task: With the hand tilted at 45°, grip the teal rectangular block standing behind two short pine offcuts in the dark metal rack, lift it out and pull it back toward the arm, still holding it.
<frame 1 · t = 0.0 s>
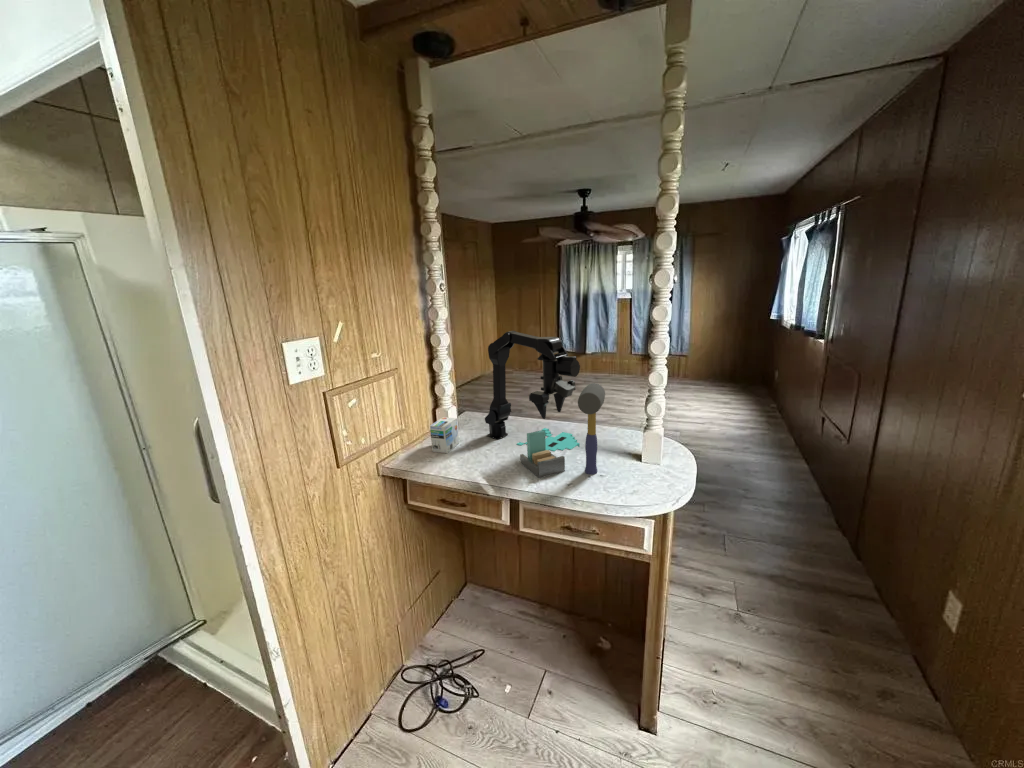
hand: (551, 415, 142), 15 cm above the counter, tool pointing down, fingers open, 9 cm apart
offcut b: (546, 470, 129), point 1 cm above the counter, touching rack
alien figure: (552, 446, 153), on the counter
offcut a: (541, 466, 132), point 1 cm above the counter, touching rack
rubber mallet: (591, 476, 127), on the counter
light bulb box: (446, 447, 155), on the counter
rack: (536, 466, 135), on the counter
teal rectangular block: (536, 462, 135), point 1 cm above the counter, touching rack
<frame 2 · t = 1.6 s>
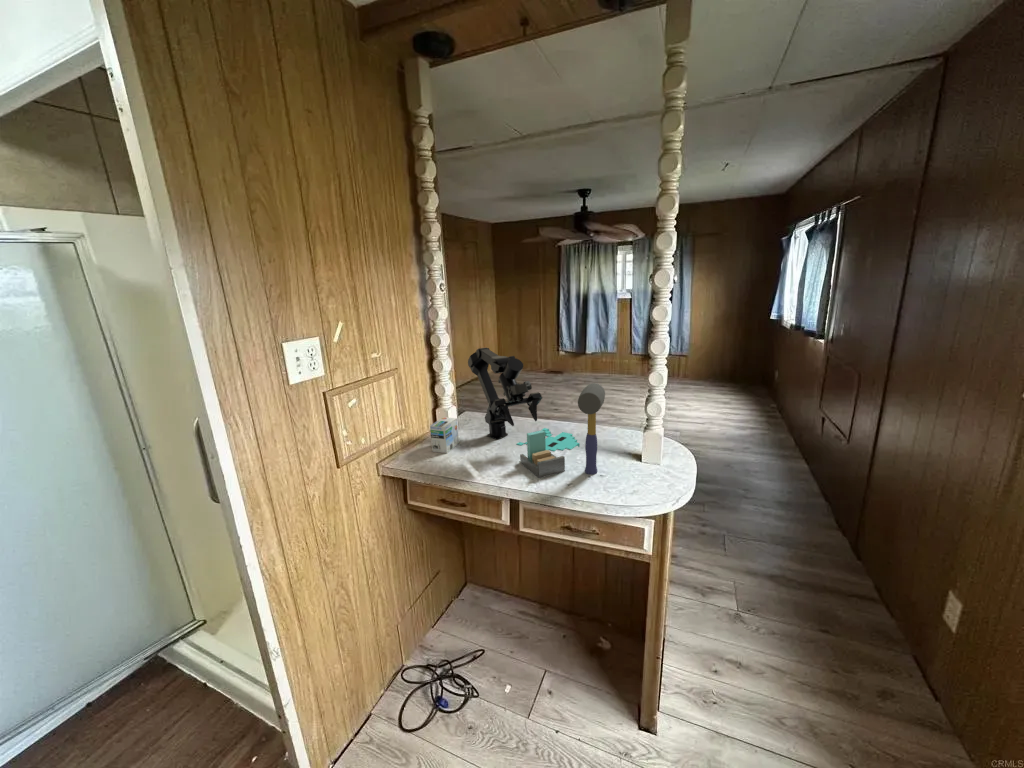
hand: (525, 423, 139), 13 cm above the counter, tool tilted 45°, fingers open, 9 cm apart
nothing on the counter moved.
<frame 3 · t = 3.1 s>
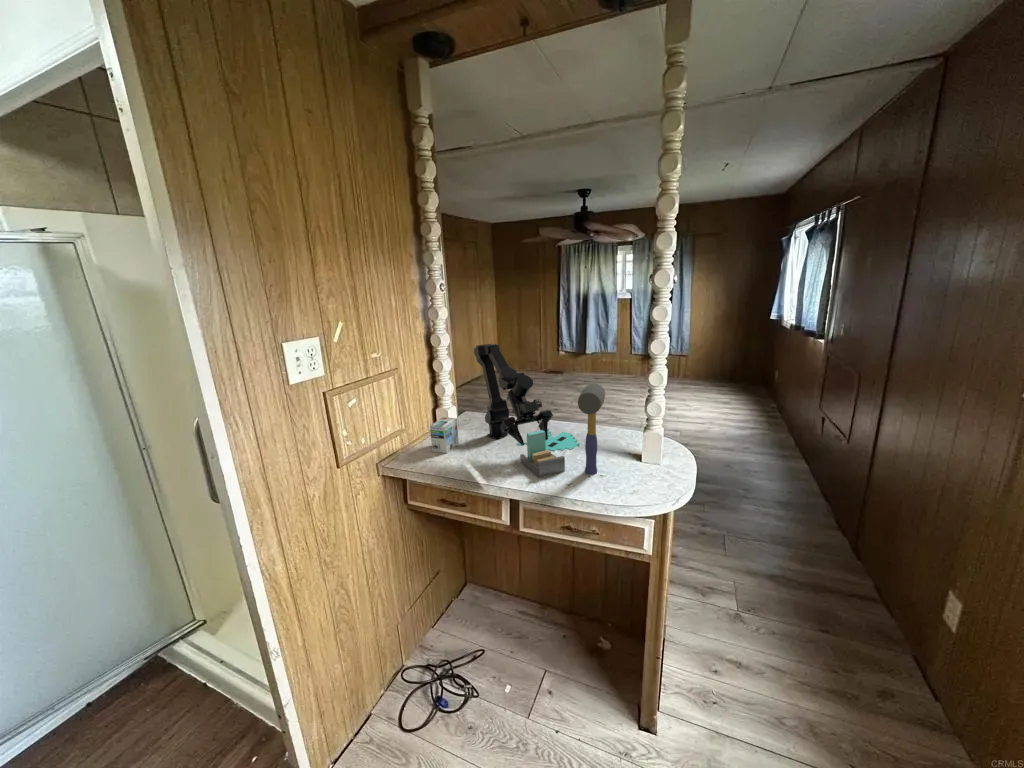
hand: (535, 442, 134), 9 cm above the counter, tool tilted 45°, fingers open, 9 cm apart
nothing on the counter moved.
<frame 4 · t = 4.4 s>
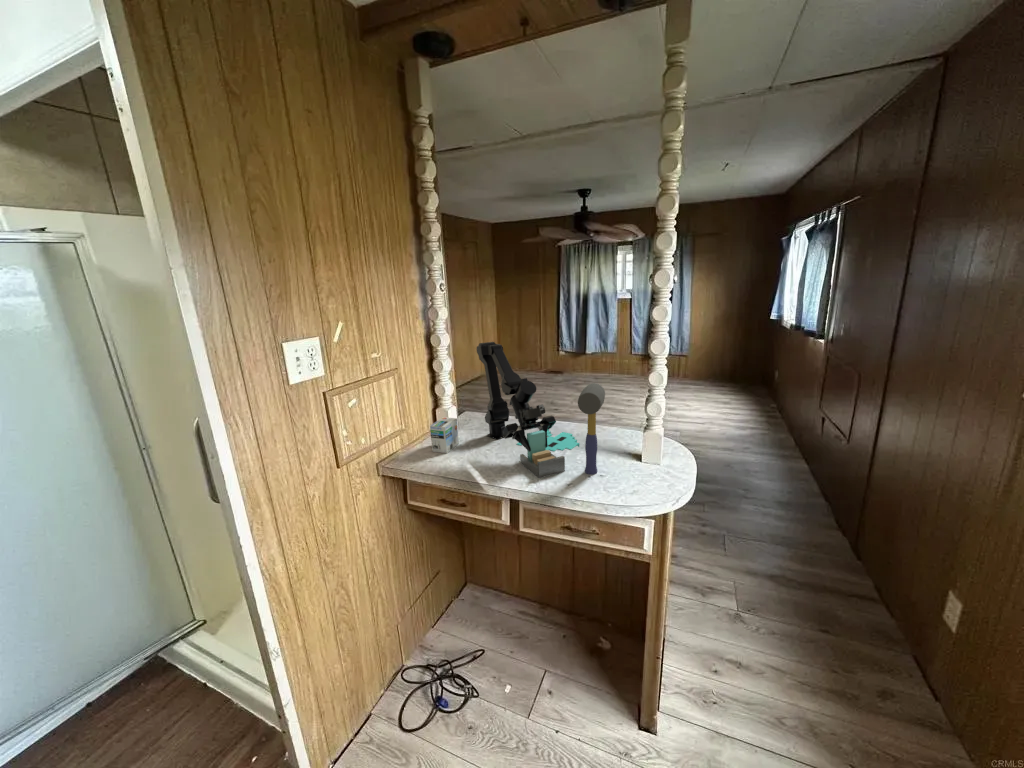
hand: (538, 449, 132), 7 cm above the counter, tool tilted 45°, fingers closed on teal rectangular block, 6 cm apart
teal rectangular block: (536, 462, 135), point 2 cm above the counter, touching gripper, rack
everything else where it was.
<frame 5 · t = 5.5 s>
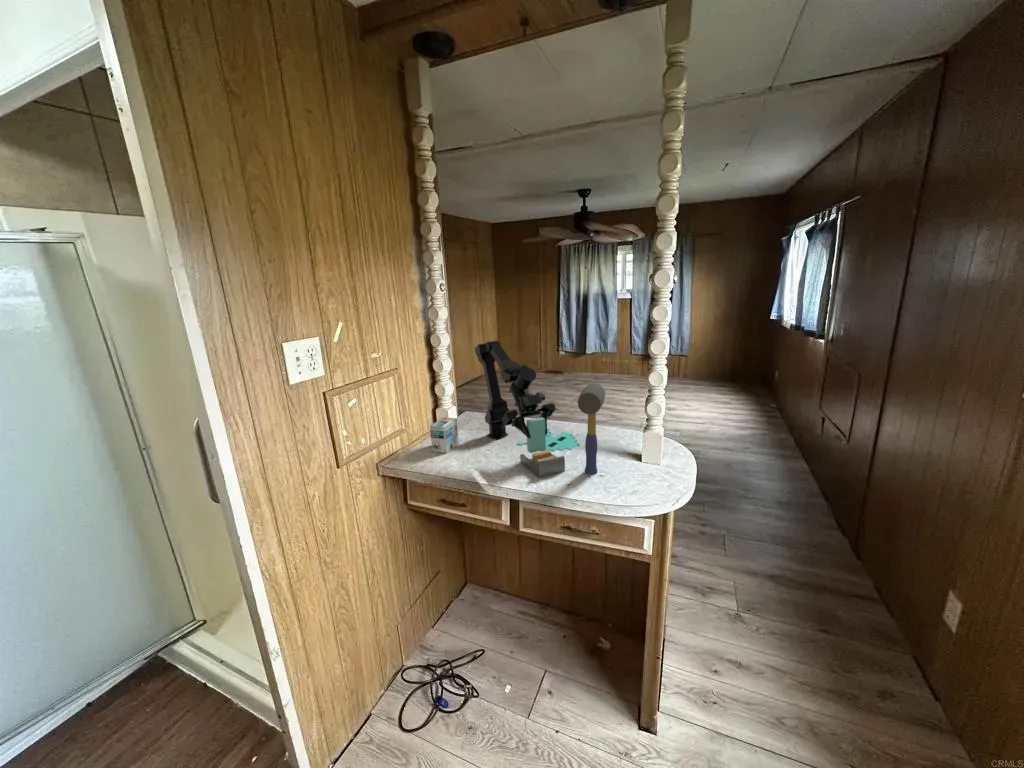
hand: (538, 436, 131), 12 cm above the counter, tool tilted 45°, fingers closed on teal rectangular block, 6 cm apart
teal rectangular block: (536, 450, 134), point 6 cm above the counter, touching gripper
everything else where it was.
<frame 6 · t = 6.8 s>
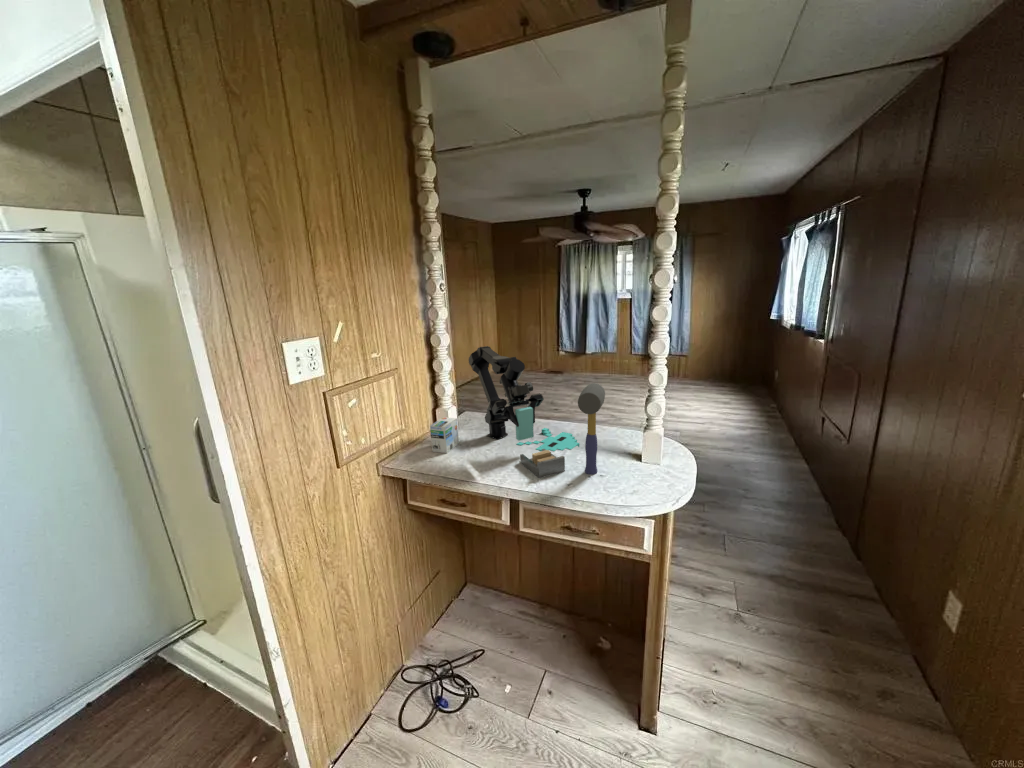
hand: (526, 424, 138), 13 cm above the counter, tool tilted 45°, fingers closed on teal rectangular block, 6 cm apart
teal rectangular block: (524, 438, 141), point 8 cm above the counter, touching gripper
everything else where it was.
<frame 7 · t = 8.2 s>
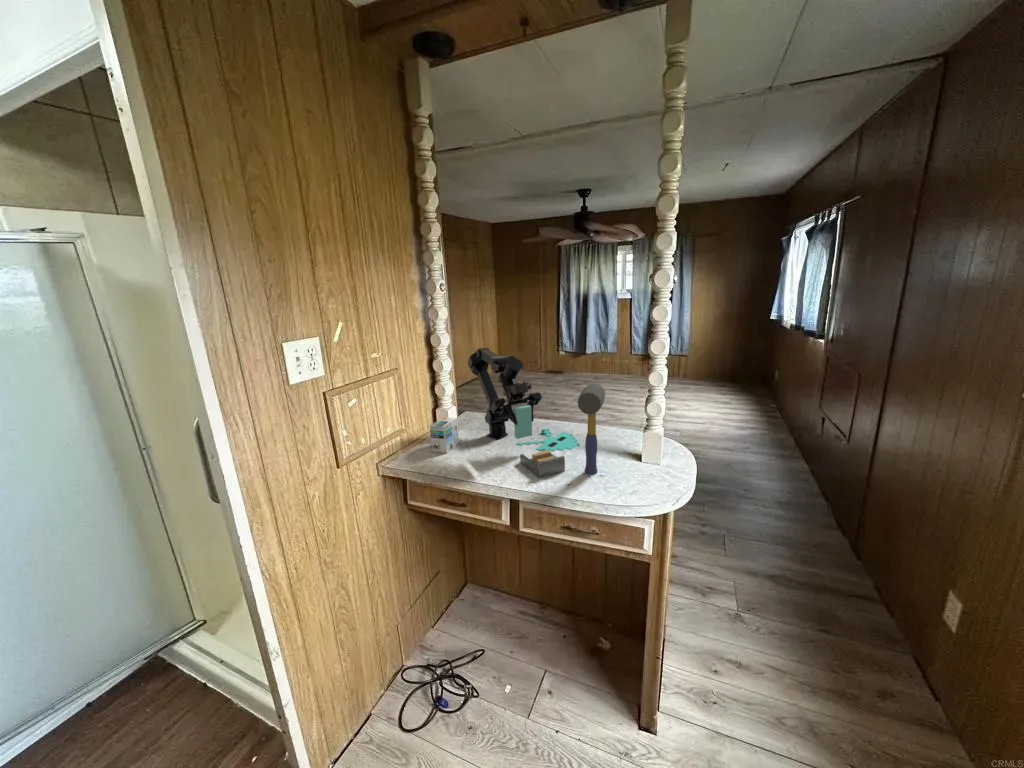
hand: (524, 422, 139), 14 cm above the counter, tool tilted 45°, fingers closed on teal rectangular block, 6 cm apart
teal rectangular block: (523, 436, 142), point 8 cm above the counter, touching gripper
everything else where it was.
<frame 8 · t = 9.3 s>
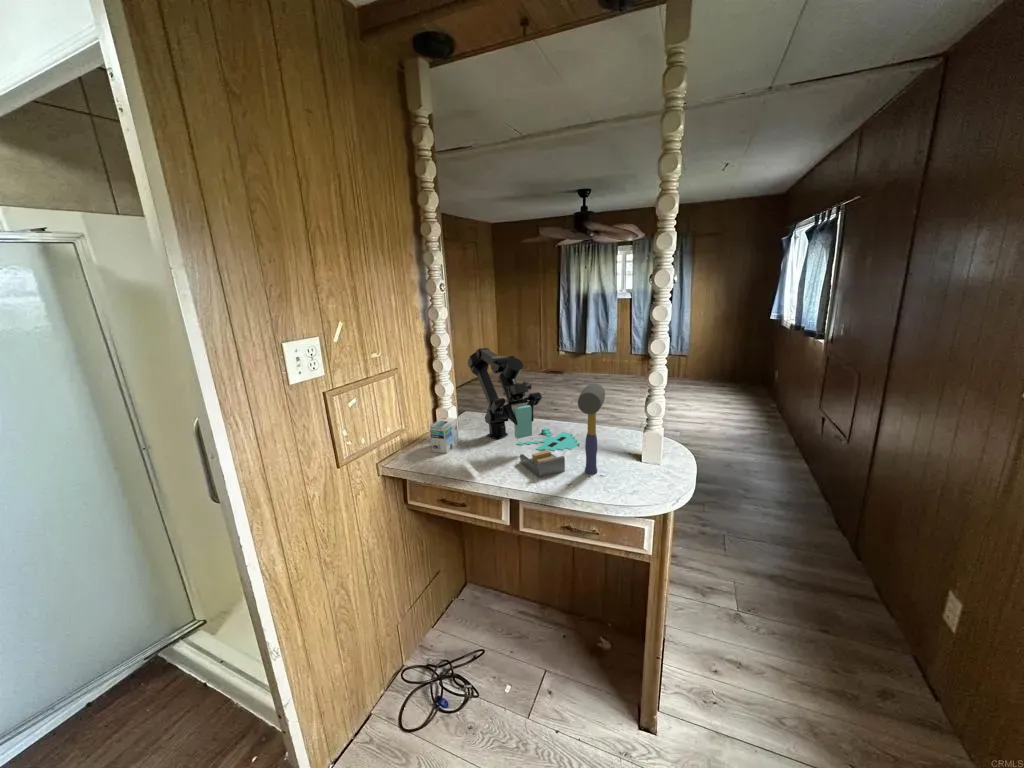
hand: (524, 422, 139), 14 cm above the counter, tool tilted 45°, fingers closed on teal rectangular block, 6 cm apart
teal rectangular block: (523, 436, 142), point 8 cm above the counter, touching gripper
everything else where it was.
at the end: the gripper is holding teal rectangular block; teal rectangular block point 7.9 cm above the counter; offcut a moved 0.0 cm from its start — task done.
